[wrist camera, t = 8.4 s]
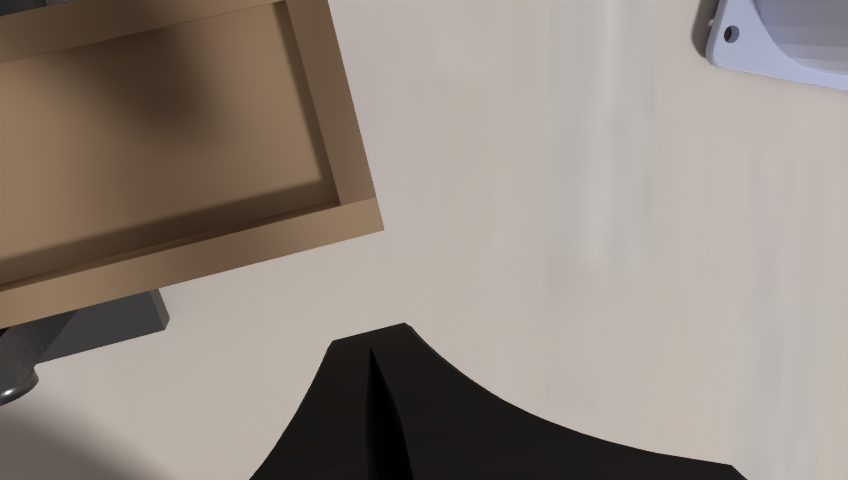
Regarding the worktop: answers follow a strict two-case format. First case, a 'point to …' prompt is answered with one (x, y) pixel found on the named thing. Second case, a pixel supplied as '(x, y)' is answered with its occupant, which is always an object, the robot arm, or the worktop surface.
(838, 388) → the worktop surface
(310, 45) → the beam
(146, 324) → the stand
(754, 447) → the worktop surface
